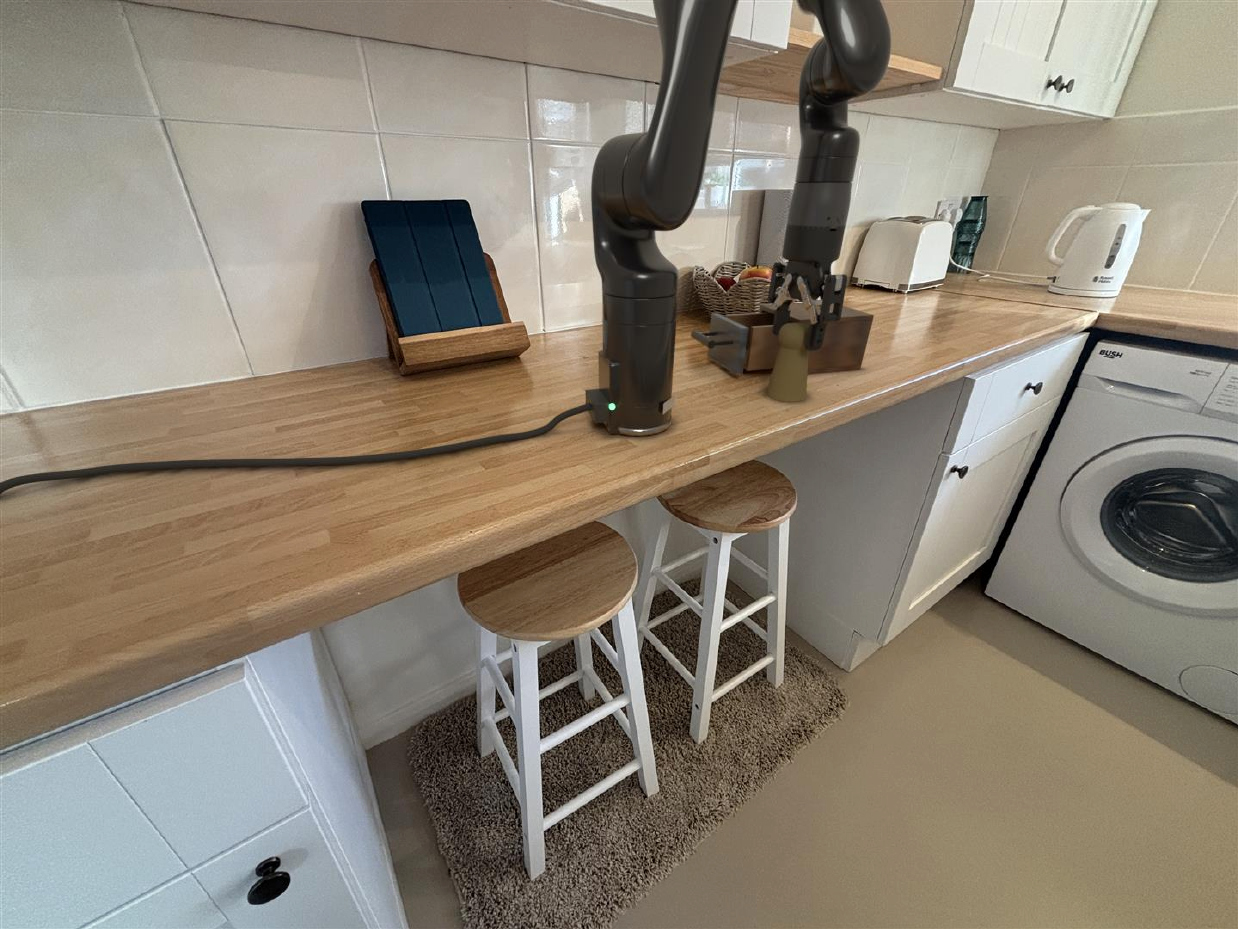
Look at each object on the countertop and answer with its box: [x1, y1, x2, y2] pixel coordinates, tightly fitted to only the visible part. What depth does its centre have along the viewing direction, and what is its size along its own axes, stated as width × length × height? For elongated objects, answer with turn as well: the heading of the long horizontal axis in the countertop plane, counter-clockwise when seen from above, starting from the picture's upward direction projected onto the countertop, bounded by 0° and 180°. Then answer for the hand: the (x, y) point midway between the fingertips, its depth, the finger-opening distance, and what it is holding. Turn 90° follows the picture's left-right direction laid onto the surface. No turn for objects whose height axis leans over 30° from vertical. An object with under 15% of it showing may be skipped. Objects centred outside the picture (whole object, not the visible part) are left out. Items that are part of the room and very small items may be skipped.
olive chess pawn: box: [765, 323, 809, 403], centre depth 75 cm, size 6×6×11 cm
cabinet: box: [759, 302, 875, 375], centre depth 90 cm, size 15×13×10 cm
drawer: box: [690, 312, 794, 376], centre depth 87 cm, size 18×11×8 cm, turn 106°
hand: (795, 341), depth 74 cm, fingers open, 8 cm apart
